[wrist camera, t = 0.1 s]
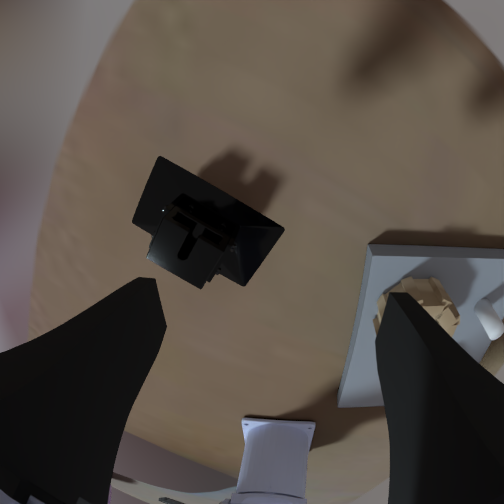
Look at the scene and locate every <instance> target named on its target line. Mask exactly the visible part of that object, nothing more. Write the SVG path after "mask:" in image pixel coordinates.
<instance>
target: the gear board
mask: <svg viewBox="0 0 504 504" xmlns="http://www.w3.org/2000/svg"><path fill="white" fill-rule="evenodd" d="M411 276H412V278H413V279H430V277H434V278H436V279H438V280H439V281H440V283H441V284H442V286H443V288H444V289H445V291H446V293H448V295H449V296H450V298H451V300H452V302H453V303H454V305H455V307H456V309H457V311H458V313H459V314H460V324H459V325H457V328H456V330H455V332H454V334H453V337H452V338H453V339H454V340H455V341H456V342H457V343H458V344H459V345H460V346H461V347H462V348H463V349H464V350H465V351H466V352H467V353H468V354H469V355H470V356H471V357H473V358H474V359H475V360H476V361H477V362H478V363H480V361H481V359H482V357H483V356H484V354H485V352H486V350H487V349H488V347H489V345H490V343H491V341H492V340H495V339H497V338H499V337H500V336H501V335H502V334H503V333H504V324H503V322H502V319H503V317H504V249H490V248H467V247H442V246H414V245H385V244H368V247H367V254H366V261H365V268H364V274H363V280H362V286H361V292H360V297H359V303H358V308H357V313H356V318H355V323H354V328H353V332H352V337H351V342H350V346H349V350H348V355H347V359H346V363H345V367H344V371H343V375H342V379H341V382H340V386H339V390H338V393H337V405H338V408H342V407H371V406H384V402H383V396H382V391H381V386H380V381H379V376H378V371H377V361H376V349H375V339H376V332H375V328H374V324H373V320H372V319H375V318H376V317H377V313H378V306H377V303H376V302H377V301H378V299H379V298H380V296H381V295H382V294H386V293H388V292H389V291H390V290H392V289H393V288H394V287H396V286H397V285H398V284H400V283H401V280H402V279H405V278H408V277H411Z"/></svg>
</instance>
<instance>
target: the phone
mask: <svg viewBox="0 0 504 504" xmlns="http://www.w3.org/2000/svg"><path fill="white" fill-rule="evenodd" d="M159 501H161V502H164V503H166V504H184V503H181V502H178V501H175V500H172V499H169V498H166V497H163V498H159Z"/></svg>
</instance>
